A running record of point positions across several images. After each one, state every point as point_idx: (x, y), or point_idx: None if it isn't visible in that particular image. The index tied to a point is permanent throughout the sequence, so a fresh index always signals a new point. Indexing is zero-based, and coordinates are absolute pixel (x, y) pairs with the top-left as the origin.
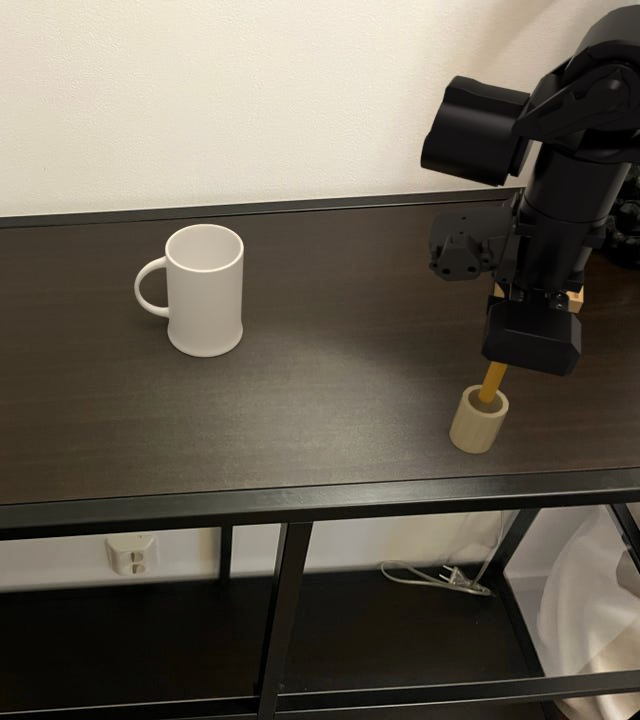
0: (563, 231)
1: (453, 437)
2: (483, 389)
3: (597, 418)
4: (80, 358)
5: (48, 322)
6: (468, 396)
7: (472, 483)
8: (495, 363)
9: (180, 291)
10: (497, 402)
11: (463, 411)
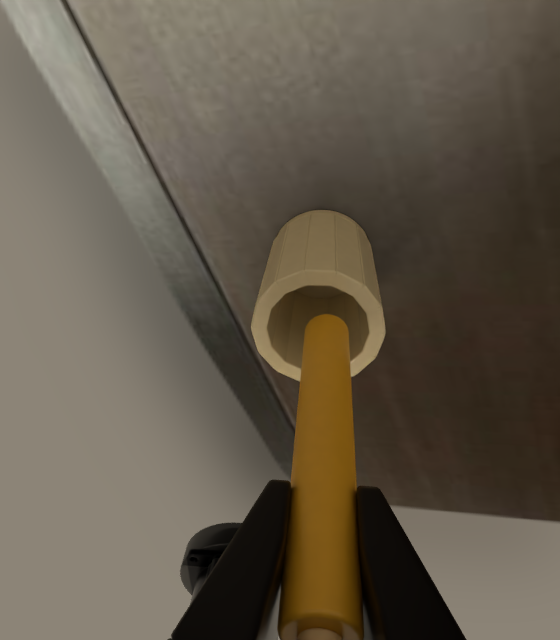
0: None
1: (290, 223)
2: (310, 343)
3: (440, 470)
4: None
5: None
6: (323, 285)
7: (189, 268)
8: (301, 440)
9: None
10: None
11: (279, 268)
